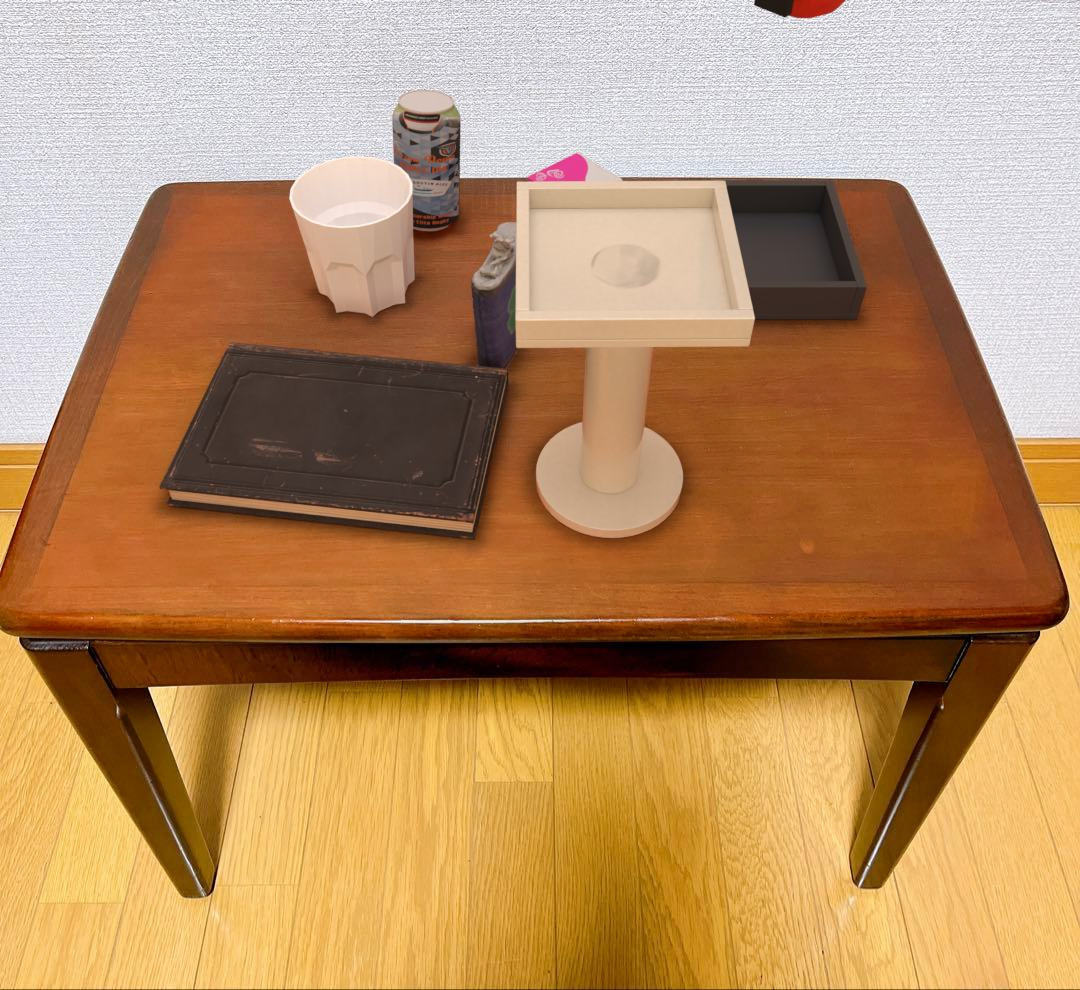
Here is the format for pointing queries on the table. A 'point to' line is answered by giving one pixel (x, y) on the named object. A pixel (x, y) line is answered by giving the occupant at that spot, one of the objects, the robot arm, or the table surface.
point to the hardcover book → (342, 440)
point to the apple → (814, 7)
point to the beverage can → (429, 155)
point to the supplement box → (573, 171)
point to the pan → (796, 250)
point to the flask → (496, 300)
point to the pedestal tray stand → (623, 328)
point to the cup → (357, 231)
